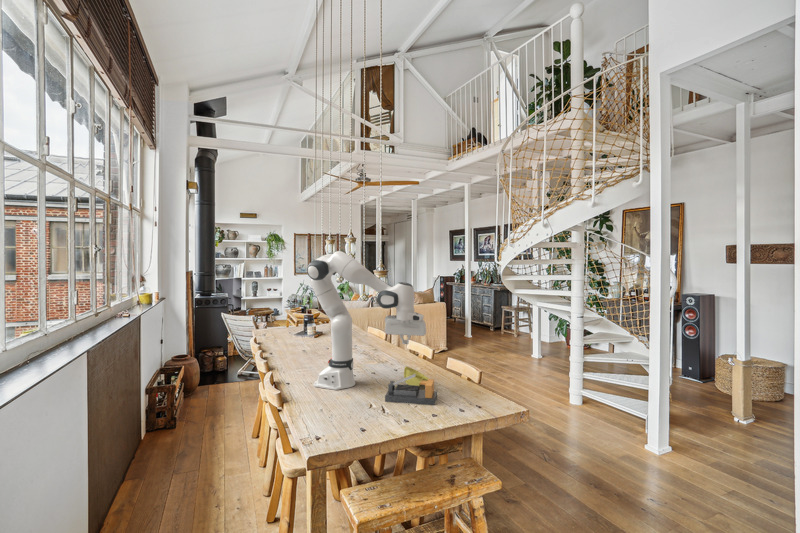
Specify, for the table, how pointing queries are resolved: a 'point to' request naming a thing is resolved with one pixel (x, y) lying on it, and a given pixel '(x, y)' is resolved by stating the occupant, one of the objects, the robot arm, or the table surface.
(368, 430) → the table surface
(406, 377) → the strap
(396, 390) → the heatsink
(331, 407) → the table surface
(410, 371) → the plastic component
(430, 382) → the clip
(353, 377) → the robot arm
